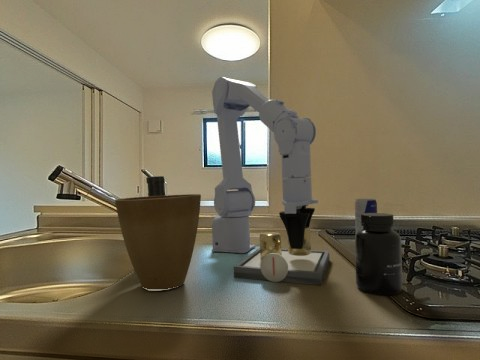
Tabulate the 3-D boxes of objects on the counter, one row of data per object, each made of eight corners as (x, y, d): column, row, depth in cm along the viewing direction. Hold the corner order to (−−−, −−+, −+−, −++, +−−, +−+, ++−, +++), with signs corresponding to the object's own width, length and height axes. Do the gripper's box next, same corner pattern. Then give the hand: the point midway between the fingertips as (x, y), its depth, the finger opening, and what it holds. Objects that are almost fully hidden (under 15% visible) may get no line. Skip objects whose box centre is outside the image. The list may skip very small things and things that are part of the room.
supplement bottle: (401, 299, 44) (398, 217, 44) (352, 292, 48) (349, 216, 48) (404, 284, 50) (401, 212, 50) (360, 278, 54) (358, 211, 54)
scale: (232, 278, 56) (231, 251, 56) (259, 256, 72) (258, 235, 72) (320, 286, 51) (319, 256, 51) (329, 260, 66) (328, 237, 66)
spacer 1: (257, 260, 61) (256, 235, 61) (263, 255, 66) (263, 232, 66) (278, 261, 60) (277, 236, 60) (283, 256, 64) (283, 232, 64)
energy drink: (380, 247, 76) (379, 199, 76) (358, 247, 77) (356, 200, 77) (375, 243, 81) (374, 198, 81) (354, 243, 82) (352, 198, 82)
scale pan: (243, 269, 58) (243, 266, 58) (263, 252, 70) (263, 250, 70) (313, 274, 53) (313, 271, 53) (321, 256, 65) (321, 253, 65)
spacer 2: (286, 255, 59) (285, 229, 59) (291, 249, 63) (290, 226, 63) (309, 256, 58) (308, 230, 58) (312, 250, 62) (311, 226, 62)
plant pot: (213, 272, 61) (210, 192, 61) (188, 302, 46) (184, 197, 46) (144, 271, 63) (141, 194, 63) (99, 299, 49) (95, 200, 49)
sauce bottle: (180, 259, 72) (176, 175, 72) (163, 266, 66) (159, 175, 66) (158, 257, 75) (155, 176, 75) (140, 264, 69) (136, 176, 69)
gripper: (311, 177, 52) (314, 255, 52) (321, 176, 66) (323, 239, 66) (272, 178, 55) (274, 253, 55) (289, 178, 68) (291, 238, 68)
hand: (299, 245), depth 61 cm, fingers closed on spacer 2, 4 cm apart
